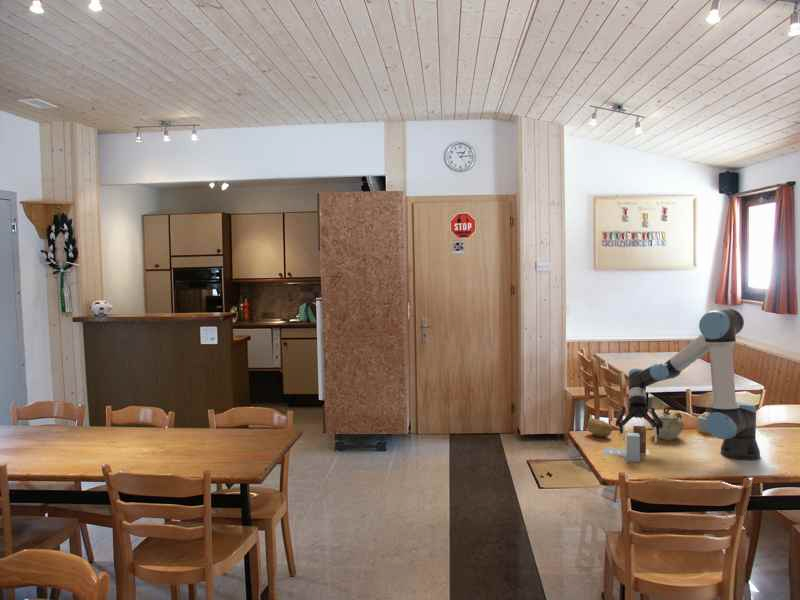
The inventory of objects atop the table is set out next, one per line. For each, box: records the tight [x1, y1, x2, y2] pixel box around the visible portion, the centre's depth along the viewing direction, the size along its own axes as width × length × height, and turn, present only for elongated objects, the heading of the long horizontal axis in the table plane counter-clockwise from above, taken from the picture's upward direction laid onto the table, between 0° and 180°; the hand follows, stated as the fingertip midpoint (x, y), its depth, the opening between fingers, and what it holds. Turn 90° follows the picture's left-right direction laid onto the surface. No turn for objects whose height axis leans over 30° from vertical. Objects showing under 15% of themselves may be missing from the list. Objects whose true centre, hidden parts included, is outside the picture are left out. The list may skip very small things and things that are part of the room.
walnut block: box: [632, 425, 647, 454], centre depth 277 cm, size 5×5×11 cm
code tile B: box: [622, 456, 644, 464], centre depth 267 cm, size 8×8×1 cm
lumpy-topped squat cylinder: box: [697, 411, 712, 435], centre depth 308 cm, size 10×13×9 cm
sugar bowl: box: [649, 406, 685, 441], centre depth 299 cm, size 20×15×15 cm
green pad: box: [640, 448, 650, 456], centre depth 277 cm, size 8×8×1 cm
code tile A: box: [602, 447, 627, 457], centre depth 278 cm, size 10×10×1 cm
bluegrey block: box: [626, 432, 641, 462], centre depth 266 cm, size 5×5×11 cm
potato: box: [587, 418, 613, 438], centre depth 303 cm, size 10×14×8 cm
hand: (639, 440), depth 275 cm, fingers open, 13 cm apart
